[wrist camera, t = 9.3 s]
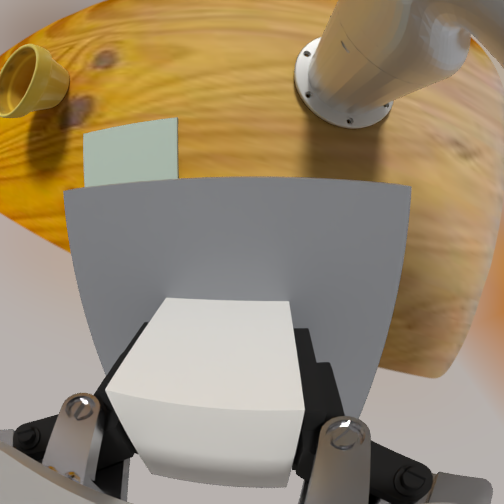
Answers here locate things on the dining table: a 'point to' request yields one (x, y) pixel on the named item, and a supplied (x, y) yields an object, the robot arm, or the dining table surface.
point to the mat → (131, 153)
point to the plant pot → (31, 82)
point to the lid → (234, 309)
